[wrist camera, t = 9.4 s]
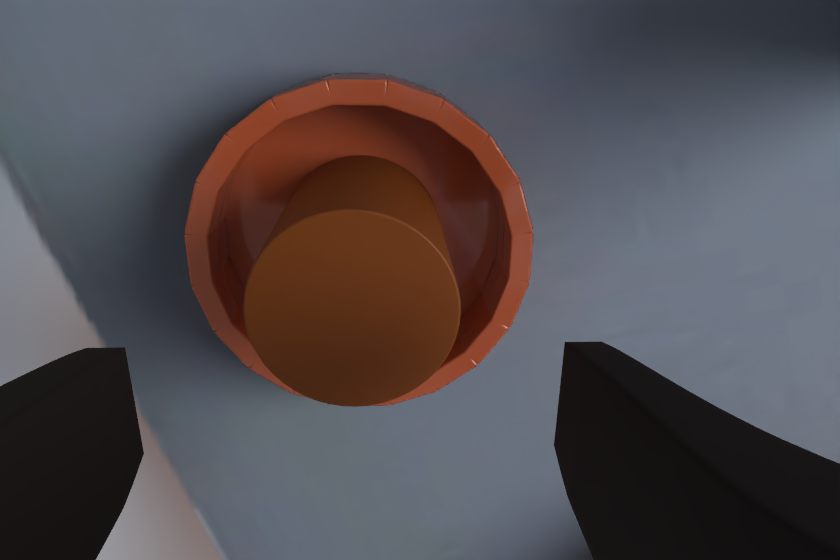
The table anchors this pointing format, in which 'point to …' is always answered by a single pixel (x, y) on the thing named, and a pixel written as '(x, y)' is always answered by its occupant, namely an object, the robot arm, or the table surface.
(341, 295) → the brown cylinder
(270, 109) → the terracotta bowl
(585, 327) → the table surface
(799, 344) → the table surface
